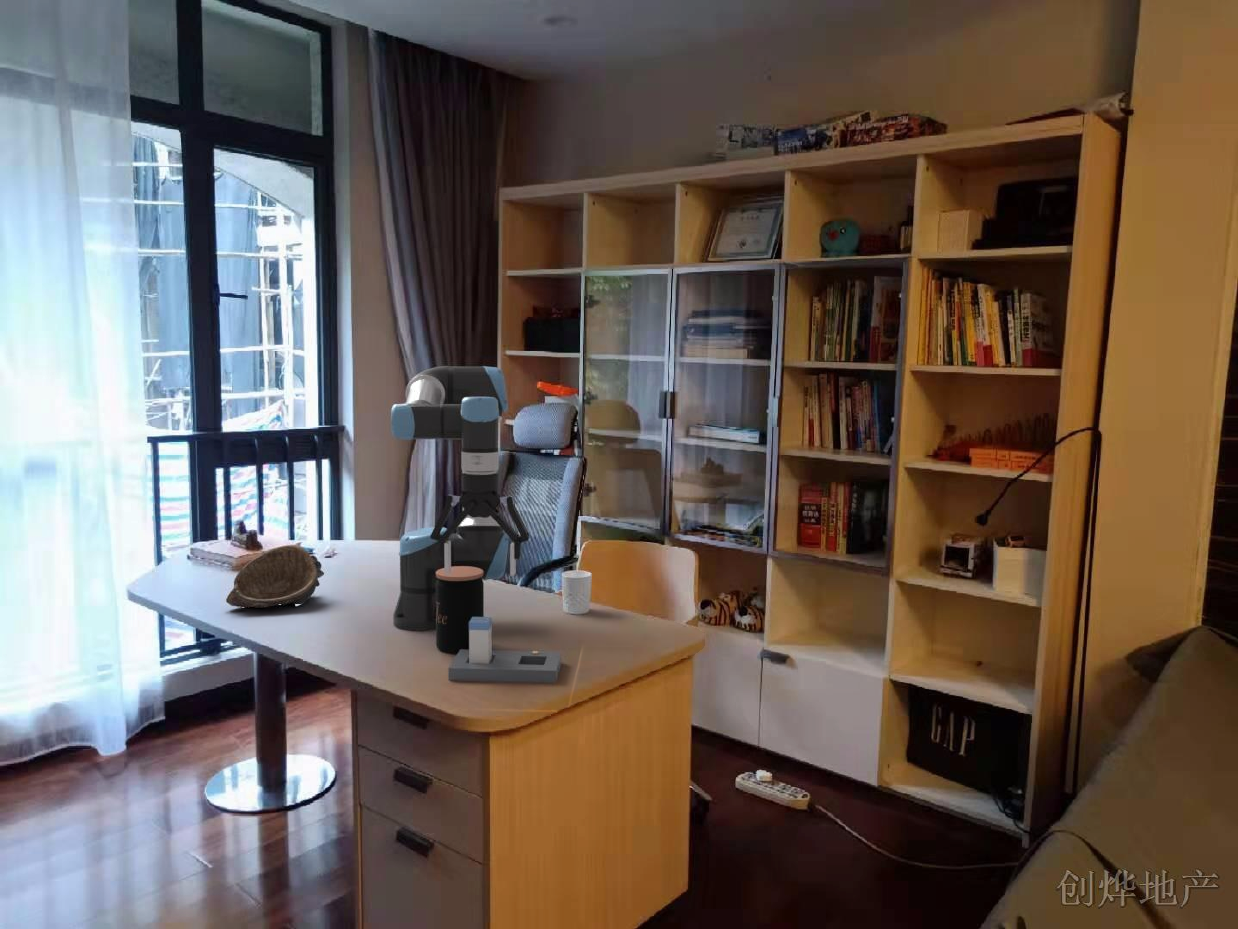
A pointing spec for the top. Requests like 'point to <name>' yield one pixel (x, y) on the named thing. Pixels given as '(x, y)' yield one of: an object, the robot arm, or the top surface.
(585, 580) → the white cup
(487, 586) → the top surface
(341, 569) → the top surface
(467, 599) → the coffee jar
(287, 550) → the coconut shell half
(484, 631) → the milk carton
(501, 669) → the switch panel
